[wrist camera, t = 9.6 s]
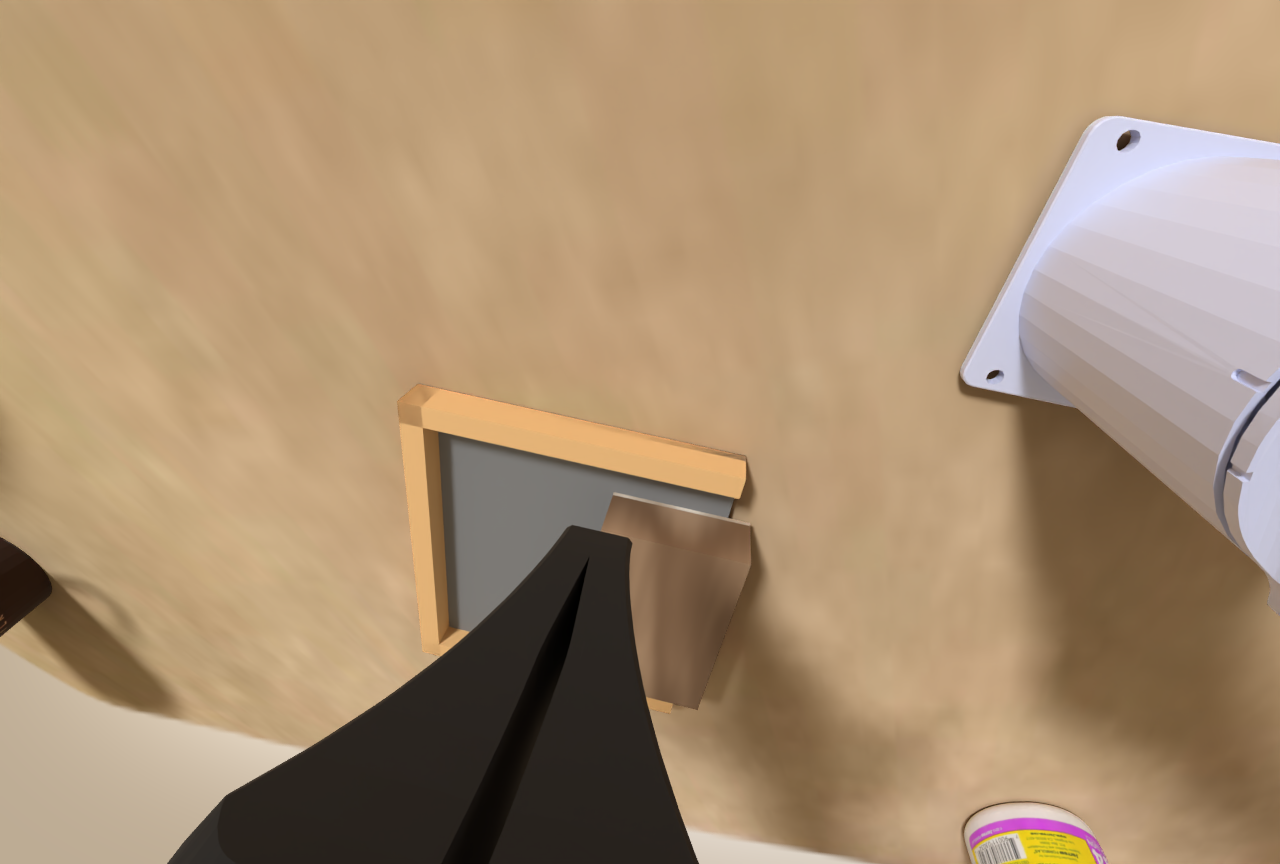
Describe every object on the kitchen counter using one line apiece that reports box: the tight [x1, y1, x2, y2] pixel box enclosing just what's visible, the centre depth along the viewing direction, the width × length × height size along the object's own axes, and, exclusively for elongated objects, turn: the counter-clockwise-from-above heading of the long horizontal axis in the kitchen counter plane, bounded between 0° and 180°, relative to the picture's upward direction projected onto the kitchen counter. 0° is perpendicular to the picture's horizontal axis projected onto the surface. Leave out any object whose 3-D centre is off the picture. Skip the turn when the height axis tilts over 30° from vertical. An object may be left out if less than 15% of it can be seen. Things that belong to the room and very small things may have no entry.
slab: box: [601, 492, 751, 710], centre depth 24 cm, size 2×10×6 cm
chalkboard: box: [397, 384, 746, 714], centre depth 25 cm, size 14×16×2 cm
